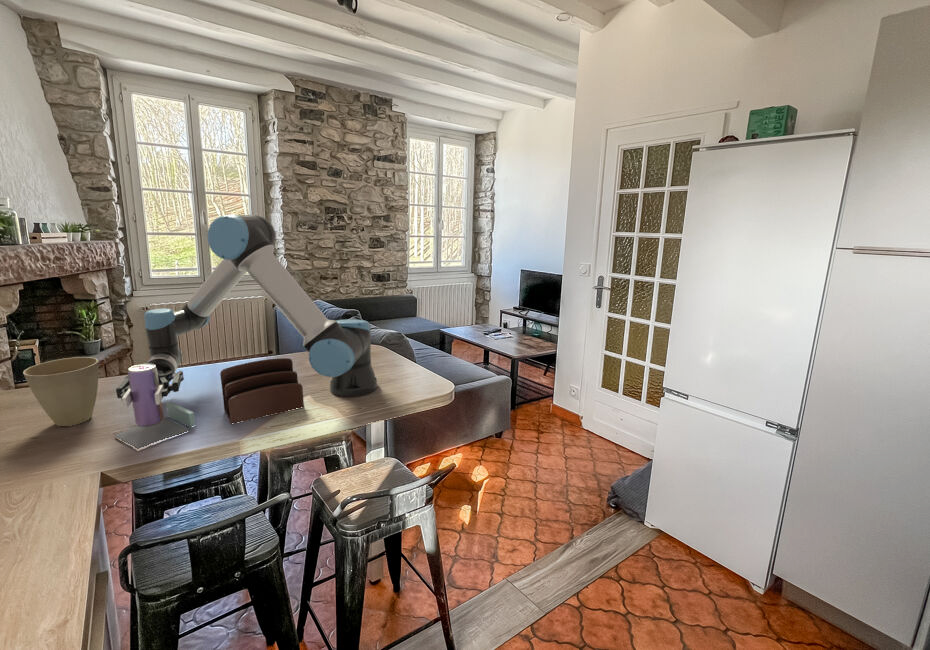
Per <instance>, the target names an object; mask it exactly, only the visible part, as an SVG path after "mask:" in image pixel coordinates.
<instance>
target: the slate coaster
mask: <svg viewBox="0 0 930 650" xmlns="http://www.w3.org/2000/svg"><path fill="white" fill-rule="evenodd" d="M187 431H190V429H189V427H188V428H187V427H186V426H184V425H183V424H181V423H177V421H176V422H175V420H173V419H170V418H167V417H164V419H163V421H162V422H161V423H160V424H157V425H155V426H151V427H140V426H138V427H135V428H134V427H133V428H131V429H129V430H126V431H125V430H124V431H123V432H120V433H117V434H114V437H115V436H116V437H117V438H119V439H121V440H122V441H124V442H126V443H128V444H130V445H132V446H134V447H135V448H137V449H139V448H141V447H144V446H147V445H149V444H151V443H154V442H157V441H159V440H163V439H165V438H169V437H172V436H175V435H179V434H182V433H184V432H187Z"/></svg>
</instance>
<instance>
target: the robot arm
mask: <svg viewBox="0 0 930 650" xmlns="http://www.w3.org/2000/svg"><path fill="white" fill-rule="evenodd" d="M275 230H276V229H275V228H274V226H273V225H272V223H271V222H270V221H269V220H268V218H267V219H266V218H265V217H263V216H261V215H258V214H234V213H232V214H227V215H221V216H219V217H217V218H215V219H214V220H213V221H212V222H211V224H210V225H209V227H208V230H207V243H208V246H209V248H210V250H211V251H212V253H213V254H214V255H215V256H217V257H218V258H220V259H222V260H221V261H220V263H218V265H217V266H216V267H215V269H213V270H212V272H211V273H210V274H209V275H208V276H207V278H206V279H205V281H203V282H202V284H201V285H200V286H199V288H198V289H196V291H195V292H194V294H193V295H192V296H191V297H190V298H189V299H188V300H187V302H186V303H185V304H184V305H183V306H182V308H180V309H179V310H175V311H174V310H173V309H171V308H155V309H150V310H149V309H148V310H146V311H145V312H144V314H143V315H144V327H145V333H146V338H147V345H148V353H149V359H148V361H146V363H145V364H154V365H156V368H157V372H158V379H159V386H160V387H159V388H158V389H157V391H156V393H155V401H156V405H159V404H160V403H161V401H163V399H164V398H166V397H168V395H169V394H170V393H171V392H173V393H177V392H179V391H180V387H181V384H182V382H183V381H184V380H185V377H184V372H183V370H179V371H177V369H178V367H179V366H180V365H181V363H182V360H183V359H182V358H183V354H182V351H181V349H180V347H179V341H178V337H179V336H181V335H184V334H187V333H190V332H192V331H195V330H199V329H201V328H203V327H205V326H207V324H208V323H209V322H210V320H211V319H210V318H211V316H210V315H211V314H212V313H213V311H214V310H215V309H216V308H218V306H219V304H220V303H221V302H222V301H223V300H224V299H225V298H226V297H227V296H228V295H229V294H230V292H232V290H233V288H234V287H235V286H236V285H238V283H239V282H240V281H241V279H242V278H243V277H244V276H245V275H246V274H247V273H248V274H249V276H250V277H251V278H252V279H253V280H254V281H255V283H256V284H258V286H259V287H260V288H261V290H262V291H263V292H264V293H265V295H266V296H268V298H269V299H270V300H271V301H272V302H273V304H274V305H275V307H277V308H278V310H279V311H280V312H281V313H282V314H283V316H285V318H286V319H287V320H288V321H289V323H290V324H292V326H293V327H294V328H295V329H296V331H298V333H299V334H300V335H301V337H302V338H303V344H302V346H303V347H304V348H305V350H306V351H307V352H308V362H309V364H310V366H311V368H312V369H313V370H314V372H316V373H317V374H319V375H320V376H323V377H326V378H327V377H328V378H331V380H330V383H329V388H330V389H329V390H330V393H332V394H333V395H336V396H341V397H358V396H364V395H368V394H370V393H373V392H374V391H376V389H377V388H378V379H377V376H376V375H375V372H374V371H375V370H374V369H373V366H372V353H371V347H372V346H371V345H372V344H371V331H372V330H371V325H370V323H369V321H367V320H364V319H363V320H362V319H338V320H333V319H330V318H329V319H328V318H327V317H326V315H325V314H324V312H323V311H321V309H320V308H319V307H318V306H317V305H316V303H315V302H314V301H313V300H312V299H311V297H310V296H309V295H308V294H307V292H306V291H304V289H303V288H302V286H301V285H300V284H299V283H298V282H297V281H296V279H295V278H294V277H293V276H292V275H291V274H290V272H289V271H288V270H287V268H285V266H284V265H283V264H282V263H281V262H280V260H279V259H278V258H277V256H276V255H275V254H274V251H275V250H274V249H275V243H276V237H277V234H276V231H275ZM171 381H172V382H171ZM170 383H171V384H170ZM115 391H116V396H117V399H121V402H122V408H123V409H124V410H126V409H128V408H129V407H130V405H131V404H132V396H131V390H130V384H129V378H128V375H126V376H124V380H122V382H121V383H120V384H119V385H118V386H117V387H116V388H115Z"/></svg>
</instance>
